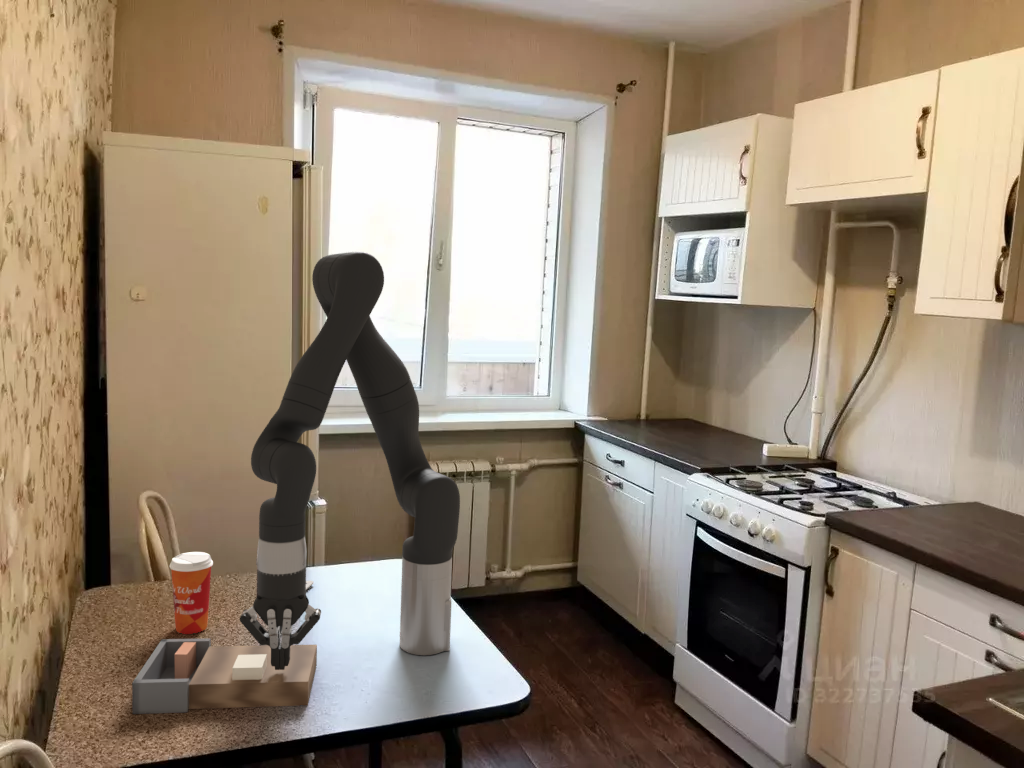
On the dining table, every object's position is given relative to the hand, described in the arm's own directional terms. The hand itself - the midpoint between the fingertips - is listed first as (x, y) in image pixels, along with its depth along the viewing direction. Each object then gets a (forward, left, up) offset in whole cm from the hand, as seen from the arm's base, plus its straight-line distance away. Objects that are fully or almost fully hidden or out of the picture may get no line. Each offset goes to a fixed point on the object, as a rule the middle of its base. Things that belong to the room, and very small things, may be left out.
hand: (280, 667), depth 126 cm
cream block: (+5, 0, -1) cm, 5 cm away
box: (+17, -3, -5) cm, 18 cm away
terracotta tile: (+15, -8, -2) cm, 17 cm away
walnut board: (+4, -3, -5) cm, 7 cm away
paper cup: (+20, -26, -5) cm, 34 cm away
